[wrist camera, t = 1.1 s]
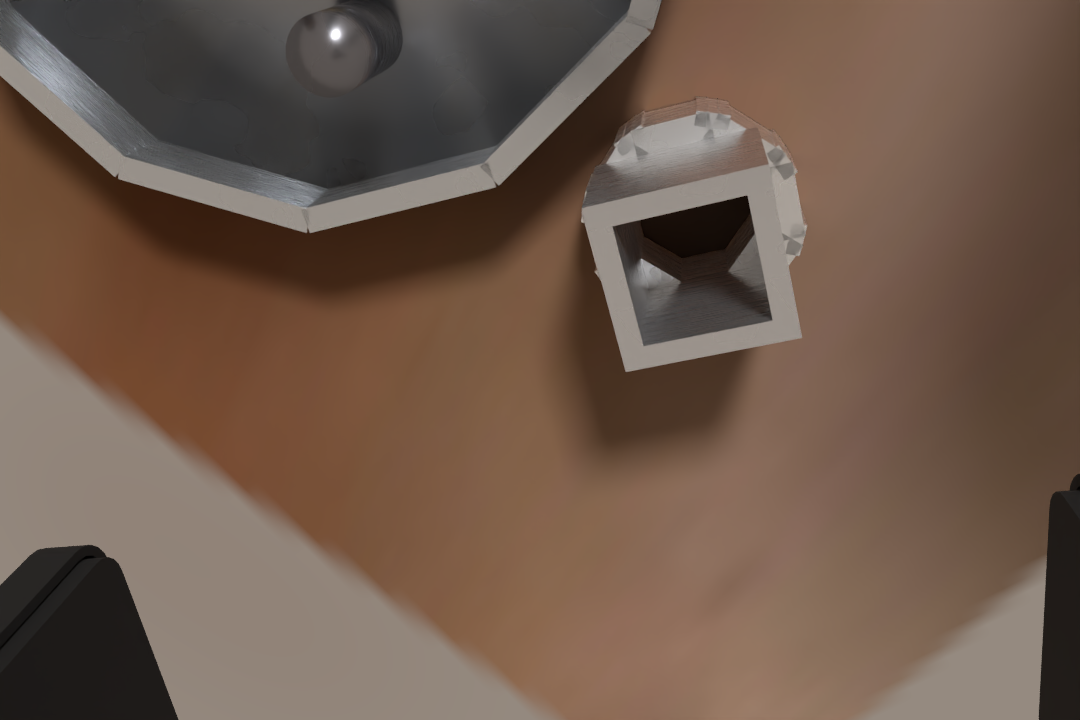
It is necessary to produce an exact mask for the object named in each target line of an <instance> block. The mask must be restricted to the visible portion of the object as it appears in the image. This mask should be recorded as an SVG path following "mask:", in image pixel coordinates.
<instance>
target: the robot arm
mask: <svg viewBox="0 0 1080 720" xmlns="http://www.w3.org/2000/svg"><path fill="white" fill-rule="evenodd" d="M1045 589H1046V590H1045V608H1044V627H1043V646H1042V665H1041V684H1040V704H1039V720H1080V474H1078V475H1076V476H1075V477H1074V478H1073V481H1072V483H1071V485H1070V491H1059V492H1055V493H1054V494H1053V495H1052V498H1051V501H1050V511H1049V530H1048V549H1047V569H1046V588H1045ZM0 720H178V717H177V715H176V712H175V709H174V707H173V704H172V702H171V699H170V696H169V694H168V691H167V688H166V686H165V683H164V680H163V678H162V675H161V672H160V670H159V667H158V664H157V662H156V659H155V657H154V654H153V651H152V649H151V646H150V644H149V641H148V638H147V636H146V633H145V630H144V627H143V625H142V622H141V619H140V617H139V614H138V612H137V609H136V606H135V604H134V601H133V598H132V596H131V593H130V590H129V588H128V585H127V583H126V580H125V577H124V574H123V572H122V570H121V568H120V566H119V564H118V563H117V562H116V561H115V560H114V559H112V558H109V557H106V555H105V553H104V552H103V551H102V550H100V548H98V547H96V546H93V545H84V546H69V547H55V548H45V549H40V550H37V551H36V552H34V553H33V554H31V555H30V556H29V557H28V558H27V559H26V560H25V561H24V562H23V563H22V564H21V565H20V566H19V567H18V568H17V569H16V570H15V571H14V572H13V573H12V574H11V575H10V576H9V577H8V578H7V579H6V580H5V581H4V582H3V583H2V584H1V585H0Z"/></svg>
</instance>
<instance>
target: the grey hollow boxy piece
mask: <svg viewBox="0 0 1080 720" xmlns="http://www.w3.org/2000/svg"><path fill="white" fill-rule="evenodd" d="M797 172H798V171H797V169H796V166H795V164H794V161H793V159H792V156H791V154H790V152H789V151H788V149H787V147H786V145H784V144H783V142H782V140H781V138H780V136H778V135H777V133H776V132H775V130H774V129H772V130H768V129H767V128H765V127H763V126H762V125H760V124H759V123H757V122H755V121H754V120H752V119H750V118H749V117H747V116H745V115H744V114H742V113H741V112H739V111H737V110H736V109H734V108H732V107H731V106H729V103H728V101H725V100H719V99H718V98H717V99H711V98H707V97H697V96H696V99H695V100H693V101H689V102H685V103H681V104H677V105H673V106H669V107H665V108H661V109H657V110H653V111H650V112H645V111H644V110H643V111H641V112H640V113H639V114H637V115H634V117H633V118H632V119H630V120H629V121H628V122H625V124H624V125H622V126H621V127H620V128H618V131H617V134H616V138H615V141H614V142H613V144H612V146H611V147H610V149H609V151H608V152H607V154H606V156H605V157H604V159H603V161H602V162H601V164H600V165H598V166H595V169H594V172H593V173H591V176H590V179H589V182H588V185H587V188H586V191H585V197H584V200H583V205H582V219H581V222H582V223H585V226H586V230H587V234H588V238H589V241H590V245H591V249H592V252H593V256H594V260H595V263H596V268H595V273H596V274H597V276H598V277H599V278H600V281H601V282H602V286H603V290H604V293H605V297H606V301H607V304H608V308H609V312H610V315H611V319H612V323H613V327H614V330H615V334H616V338H617V341H618V345H619V349H620V353H621V356H622V360H623V364H624V367H625V371H626V372H629V371H634V370H639V369H644V368H649V367H655V366H660V365H665V364H670V363H675V362H680V361H685V360H691V359H696V358H701V357H706V356H711V355H716V354H721V353H727V352H732V351H737V350H742V349H747V348H752V347H757V346H763V345H768V344H773V343H778V342H783V341H788V340H793V339H799V338H802V335H801V330H800V324H799V319H798V314H797V309H796V303H795V298H794V293H793V288H792V282H791V277H790V272H789V267H788V266H789V264H790V263H791V262H792V260H793V259H794V258H795V256H800V253H801V248H802V247H803V240H804V236H806V235H805V232H806V228H807V223H806V220H805V217H804V214H803V212H802V209H801V206H800V201H799V196H798V190H797V185H796V179H795V173H797ZM742 196H748V201H749V206H750V211H751V213H750V214H749V216H748V217H747V219H746V220H745V221H744V223H743V224H742V226H741V227H740V229H739V230H738V232H737V233H736V234H735V236H734V237H733V239H732V240H731V242H730V243H729V244H728V246H727V247H726V249H722V250H717V251H713V252H708V253H704V254H699V255H695V256H690V257H685V258H680V257H679V256H677V255H675V254H674V253H672V252H670V251H668V250H667V249H665V248H663V247H662V246H660V245H658V244H657V243H655V242H653V241H651V240H650V239H648V238H646V237H645V236H644V234H643V230H642V226H641V222H640V220H642V219H647V218H651V217H655V216H660V215H664V214H668V213H673V212H677V211H681V210H686V209H690V208H694V207H699V206H703V205H707V204H712V203H716V202H720V201H725V200H729V199H734V198H738V197H742Z"/></svg>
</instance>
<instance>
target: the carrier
mask: <svg viewBox="0 0 1080 720" xmlns="http://www.w3.org/2000/svg"><path fill="white" fill-rule="evenodd" d="M660 4H661V0H0V76H1V77H2V78H3V79H5V80H6V81H7V82H8V83H9V84H10V85H11V86H12V87H14V88H15V89H16V90H17V91H18V92H19V93H20V94H22V95H23V96H24V97H25V98H26V99H27V100H28V101H29V102H31V103H32V104H33V105H34V106H35V107H36V108H37V109H38V110H40V111H41V112H42V113H43V114H44V115H45V116H46V117H47V118H49V119H50V120H51V121H52V122H53V123H54V124H55V125H57V126H58V127H59V128H60V129H61V130H62V131H63V132H64V133H66V134H67V135H68V136H69V137H70V138H71V139H72V140H73V141H75V142H76V143H77V144H78V145H79V146H80V147H81V148H83V149H84V150H85V151H86V152H87V153H88V154H89V155H90V156H92V157H93V158H94V159H95V160H96V161H97V162H98V163H99V164H101V165H102V166H103V167H104V168H105V169H106V170H107V171H109V172H110V173H111V174H112V175H113V176H114V177H117V176H118V179H120V180H123V181H127V182H130V183H134V184H137V185H141V186H144V187H148V188H151V189H155V190H158V191H162V192H165V193H169V194H172V195H176V196H179V197H183V198H186V199H190V200H193V201H197V202H200V203H203V204H207V205H210V206H214V207H217V208H221V209H224V210H228V211H231V212H235V213H238V214H242V215H245V216H249V217H252V218H256V219H259V220H263V221H266V222H270V223H273V224H277V225H280V226H284V227H287V228H291V229H294V230H298V231H301V232H305V233H307V232H308V231H309V232H310V233H313V232H317V231H321V230H325V229H329V228H333V227H337V226H341V225H345V224H349V223H353V222H357V221H361V220H365V219H370V218H374V217H378V216H382V215H386V214H390V213H394V212H398V211H402V210H406V209H410V208H414V207H418V206H422V205H426V204H431V203H435V202H439V201H443V200H447V199H451V198H455V197H459V196H463V195H467V194H471V193H475V192H479V191H483V190H487V189H491V188H496V187H497V185H500V184H501V183H502V182H503V181H504V180H505V179H506V178H507V177H508V176H509V175H510V174H511V173H512V172H513V171H514V170H515V169H516V168H517V167H518V166H519V165H520V164H521V163H522V162H523V161H524V160H525V159H526V158H527V157H528V156H529V155H530V154H531V153H532V152H533V151H534V150H535V149H536V148H537V147H538V146H539V145H540V144H541V143H542V142H543V141H544V140H545V139H546V138H547V137H548V136H549V135H550V134H551V133H552V132H553V131H554V130H555V129H556V128H557V127H558V126H559V125H560V124H561V123H562V122H563V121H564V120H565V119H566V118H567V117H568V116H569V115H570V114H571V113H572V112H573V111H574V110H575V109H576V108H577V107H578V106H579V105H580V104H581V103H582V102H583V101H584V100H585V99H586V98H587V97H588V96H589V95H590V94H591V93H592V92H593V91H594V90H595V89H596V88H597V87H598V86H599V85H600V84H601V83H602V82H603V81H604V80H605V79H606V78H607V77H608V76H609V75H610V74H611V73H612V72H613V71H614V70H615V69H616V68H617V67H618V66H619V65H620V64H621V63H622V62H623V61H624V60H625V59H626V58H627V57H628V56H629V55H630V54H631V53H632V52H633V51H634V50H635V49H636V48H637V47H638V46H639V45H640V44H641V43H642V42H643V41H644V40H645V39H646V38H647V37H648V36H649V35H650V34H651V31H652V30H653V28H654V24H655V21H656V17H657V14H658V11H659V7H660Z"/></svg>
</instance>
